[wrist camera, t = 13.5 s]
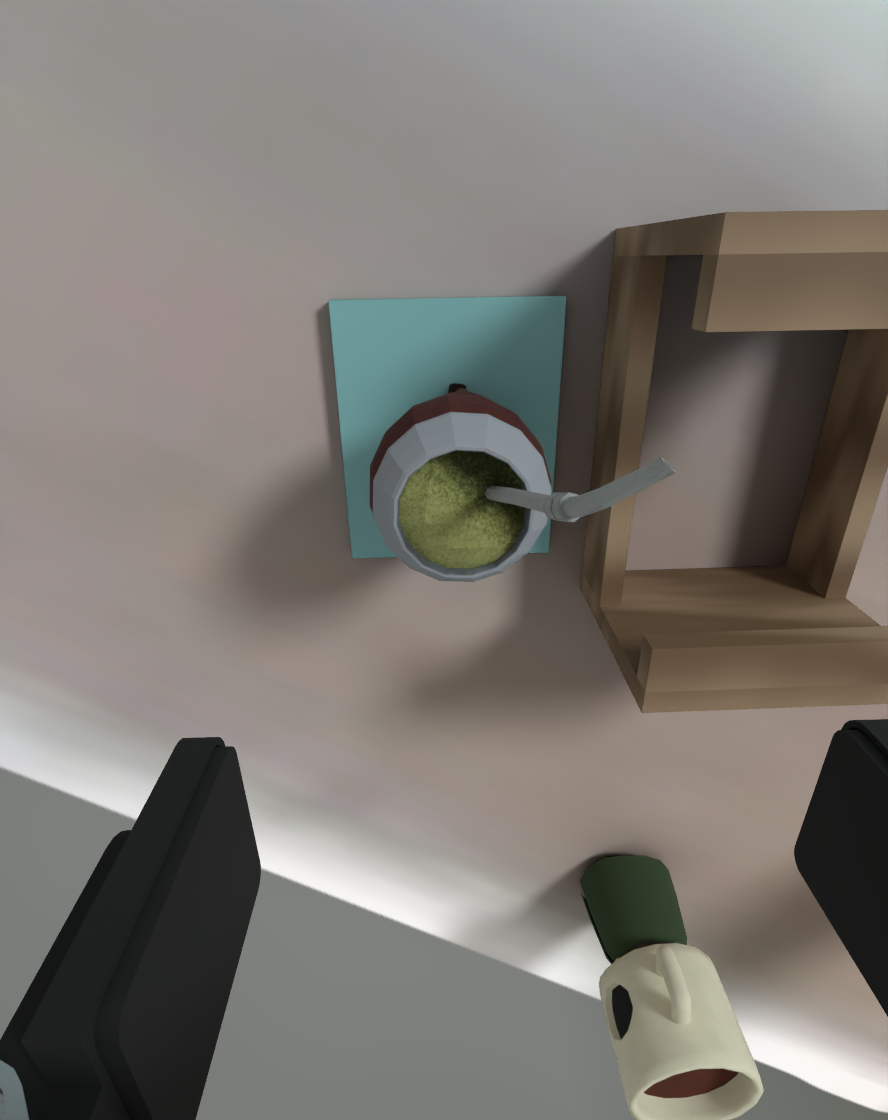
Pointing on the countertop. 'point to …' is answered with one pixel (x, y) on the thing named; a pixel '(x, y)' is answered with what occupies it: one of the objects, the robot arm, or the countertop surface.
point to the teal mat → (439, 376)
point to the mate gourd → (474, 488)
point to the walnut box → (832, 491)
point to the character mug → (664, 1000)
